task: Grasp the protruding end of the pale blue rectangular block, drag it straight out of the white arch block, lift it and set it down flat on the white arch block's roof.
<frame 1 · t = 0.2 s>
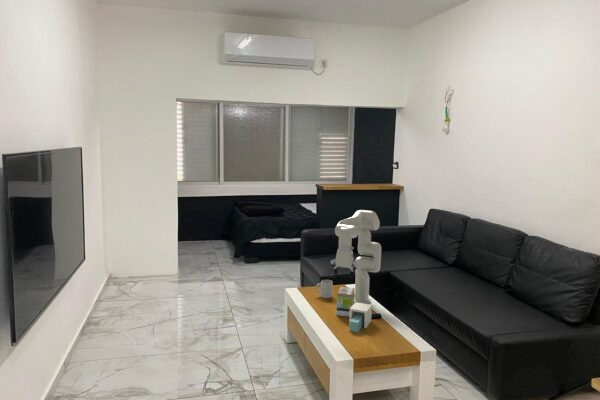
hand: (343, 276, 274), 31 cm above the table, fingers open, 9 cm apart
tea box: (345, 312, 300), on the table
mug: (324, 296, 329), on the table
white arch block: (360, 322, 282), on the table
pale blue rectangular block: (356, 328, 275), on the table
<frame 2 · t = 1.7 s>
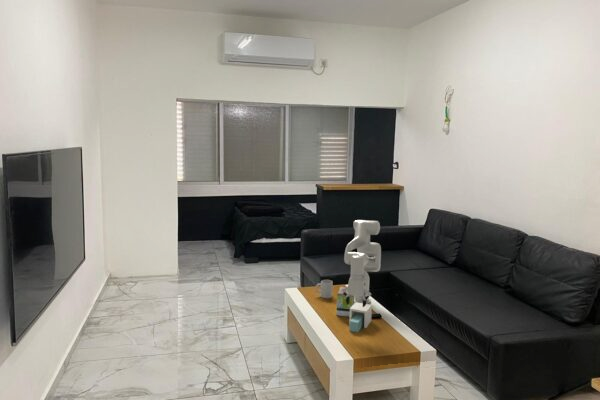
hand: (355, 305, 270), 15 cm above the table, fingers open, 9 cm apart
nothing on the table moved.
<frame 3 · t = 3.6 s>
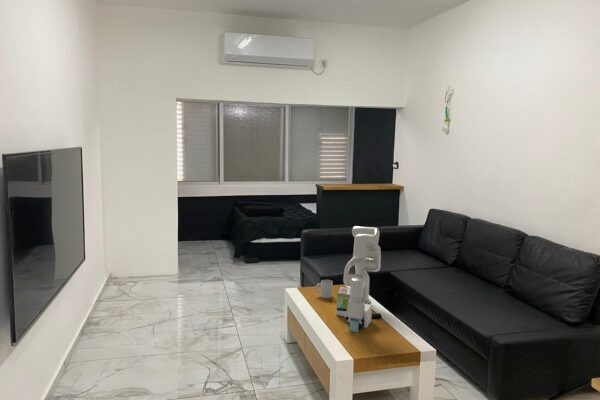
hand: (355, 328, 272), 1 cm above the table, fingers closed on pale blue rectangular block, 5 cm apart
pale blue rectangular block: (356, 327, 275), on the table, touching gripper
everything else where it was.
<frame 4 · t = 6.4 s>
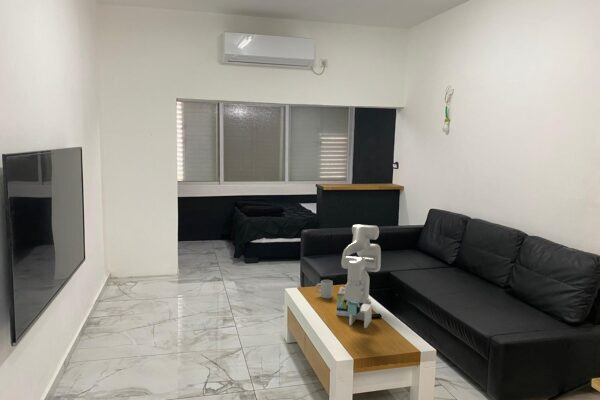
hand: (353, 311, 266), 13 cm above the table, fingers closed on pale blue rectangular block, 5 cm apart
pale blue rectangular block: (354, 311, 269), point 12 cm above the table, touching gripper
everything else where it was.
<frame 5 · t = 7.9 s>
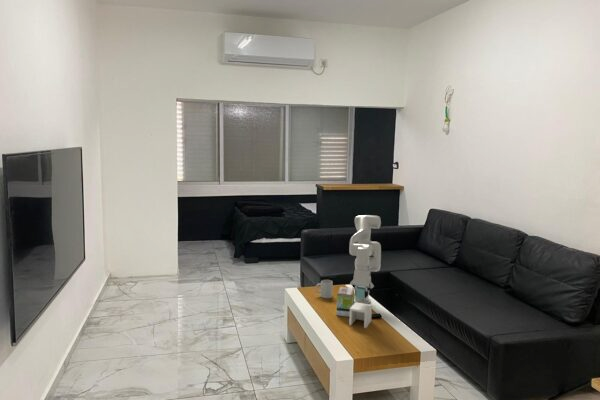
hand: (361, 296, 280), 17 cm above the table, fingers closed on pale blue rectangular block, 5 cm apart
pale blue rectangular block: (362, 295, 283), point 16 cm above the table, touching gripper
everything else where it was.
when the fingers open (12 cm above the table, at t = 9.1 s): pale blue rectangular block drops 1 cm, resting on white arch block.
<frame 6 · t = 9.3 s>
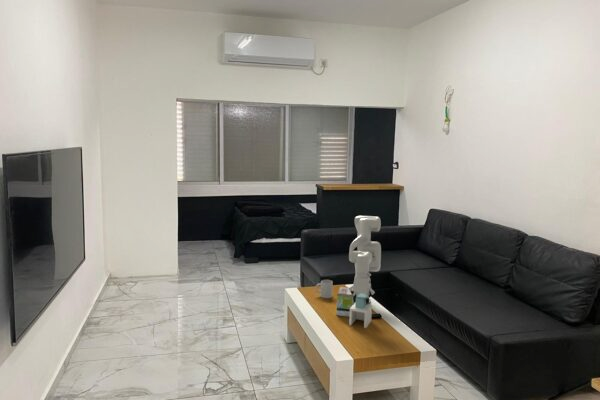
hand: (361, 302, 280), 13 cm above the table, fingers open, 7 cm apart
pale blue rectangular block: (362, 305, 284), point 10 cm above the table, touching white arch block
everything else where it was.
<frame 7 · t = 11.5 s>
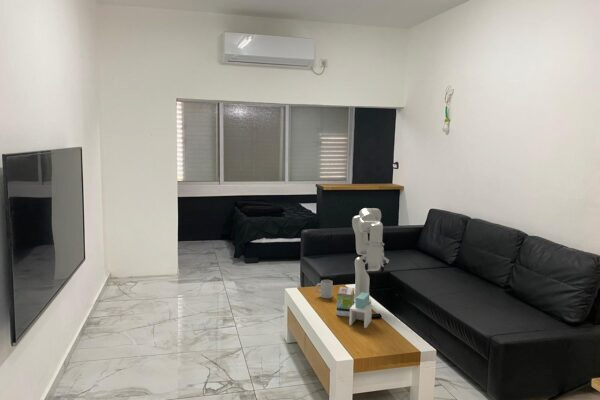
hand: (374, 271, 281), 32 cm above the table, fingers open, 9 cm apart
nothing on the table moved.
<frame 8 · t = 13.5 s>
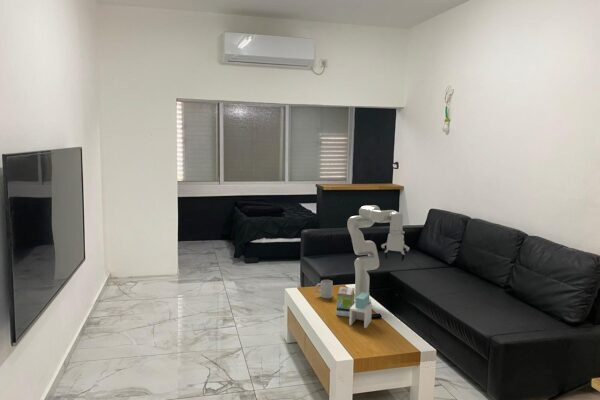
hand: (394, 259, 284), 38 cm above the table, fingers open, 9 cm apart
nothing on the table moved.
at the end: pale blue rectangular block inside the target area on the white arch block (3.0 cm from its centre), point 10.4 cm above the white arch block's base; pale blue rectangular block tilted 0°; the gripper is holding nothing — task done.
